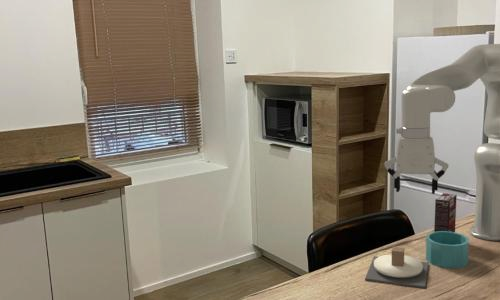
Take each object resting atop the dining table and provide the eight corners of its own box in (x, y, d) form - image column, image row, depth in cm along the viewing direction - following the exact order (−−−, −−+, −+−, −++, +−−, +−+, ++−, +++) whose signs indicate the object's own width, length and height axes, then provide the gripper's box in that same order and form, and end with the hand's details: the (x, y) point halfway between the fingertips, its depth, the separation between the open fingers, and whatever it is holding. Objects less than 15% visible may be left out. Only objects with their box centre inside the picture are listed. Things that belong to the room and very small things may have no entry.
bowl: (427, 250, 156) (427, 229, 155) (467, 254, 152) (468, 233, 150) (424, 265, 146) (425, 243, 144) (468, 270, 141) (469, 247, 140)
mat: (374, 258, 152) (374, 256, 152) (428, 264, 146) (428, 262, 146) (365, 280, 138) (365, 278, 138) (424, 288, 132) (424, 286, 132)
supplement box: (448, 248, 157) (449, 201, 154) (433, 245, 160) (434, 199, 157) (455, 239, 164) (457, 194, 161) (440, 237, 166) (442, 192, 163)
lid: (377, 258, 151) (377, 238, 149) (423, 263, 145) (424, 242, 144) (370, 277, 138) (370, 255, 137) (421, 283, 133) (421, 261, 132)
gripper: (381, 135, 136) (382, 193, 139) (448, 135, 129) (447, 197, 132) (385, 130, 143) (386, 186, 146) (449, 130, 136) (448, 189, 139)
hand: (415, 191), depth 139 cm, fingers open, 9 cm apart
